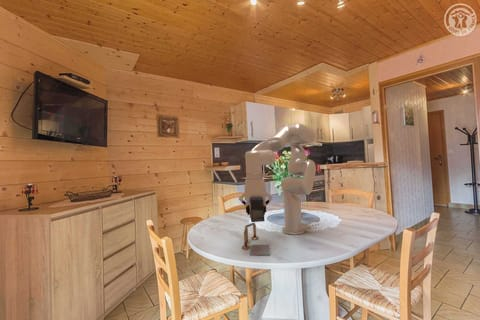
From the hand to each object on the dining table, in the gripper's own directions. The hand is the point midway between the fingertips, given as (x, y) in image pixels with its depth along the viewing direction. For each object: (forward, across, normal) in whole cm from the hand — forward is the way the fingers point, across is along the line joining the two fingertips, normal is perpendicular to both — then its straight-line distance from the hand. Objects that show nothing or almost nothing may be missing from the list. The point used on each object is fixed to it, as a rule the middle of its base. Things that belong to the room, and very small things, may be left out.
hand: (256, 213), depth 108 cm
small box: (+2, 0, 0) cm, 2 cm away
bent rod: (+17, +4, -8) cm, 20 cm away
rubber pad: (+17, -1, +1) cm, 17 cm away
